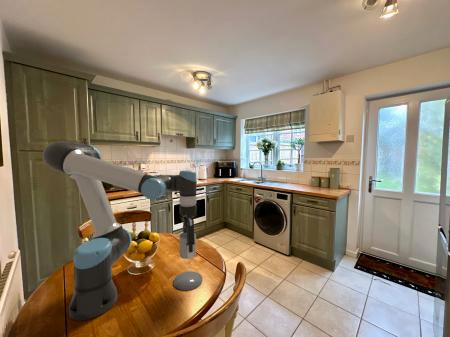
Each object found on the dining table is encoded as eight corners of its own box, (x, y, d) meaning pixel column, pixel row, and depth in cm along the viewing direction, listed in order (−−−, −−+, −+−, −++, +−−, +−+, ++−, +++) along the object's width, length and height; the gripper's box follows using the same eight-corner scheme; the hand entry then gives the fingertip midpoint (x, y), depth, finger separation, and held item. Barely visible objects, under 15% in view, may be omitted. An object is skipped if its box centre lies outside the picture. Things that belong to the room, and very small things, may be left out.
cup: (177, 259, 82) (177, 238, 81) (182, 248, 92) (182, 230, 91) (194, 259, 82) (194, 238, 81) (197, 248, 92) (197, 230, 91)
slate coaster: (175, 293, 79) (175, 292, 79) (172, 275, 91) (172, 274, 91) (205, 286, 83) (205, 285, 83) (198, 270, 95) (198, 269, 95)
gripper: (202, 210, 77) (202, 264, 77) (191, 199, 97) (191, 242, 98) (183, 211, 74) (183, 267, 75) (176, 200, 95) (177, 244, 96)
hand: (188, 253), depth 87 cm, fingers closed on cup, 10 cm apart
